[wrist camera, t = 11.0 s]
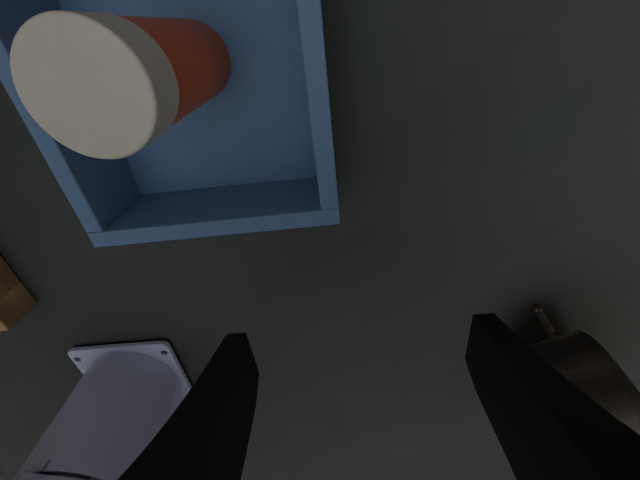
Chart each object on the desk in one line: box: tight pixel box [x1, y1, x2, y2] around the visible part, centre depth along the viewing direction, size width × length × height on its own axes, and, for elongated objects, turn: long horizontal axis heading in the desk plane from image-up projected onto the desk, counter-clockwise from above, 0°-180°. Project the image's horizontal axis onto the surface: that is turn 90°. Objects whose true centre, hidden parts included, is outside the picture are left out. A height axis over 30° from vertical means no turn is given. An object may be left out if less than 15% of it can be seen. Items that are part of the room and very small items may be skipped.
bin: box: [0, 0, 340, 247], centre depth 14 cm, size 14×12×5 cm
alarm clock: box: [529, 304, 640, 435], centre depth 20 cm, size 11×5×16 cm, turn 31°
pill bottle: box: [10, 10, 231, 159], centre depth 12 cm, size 3×3×8 cm
